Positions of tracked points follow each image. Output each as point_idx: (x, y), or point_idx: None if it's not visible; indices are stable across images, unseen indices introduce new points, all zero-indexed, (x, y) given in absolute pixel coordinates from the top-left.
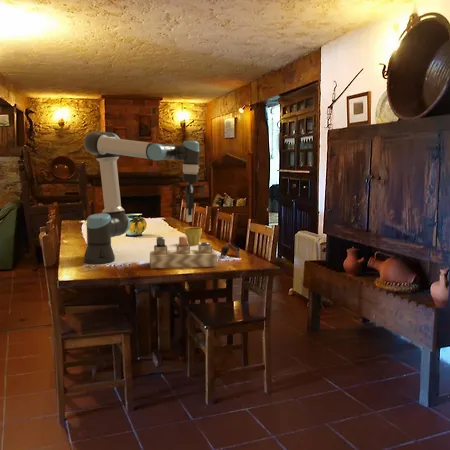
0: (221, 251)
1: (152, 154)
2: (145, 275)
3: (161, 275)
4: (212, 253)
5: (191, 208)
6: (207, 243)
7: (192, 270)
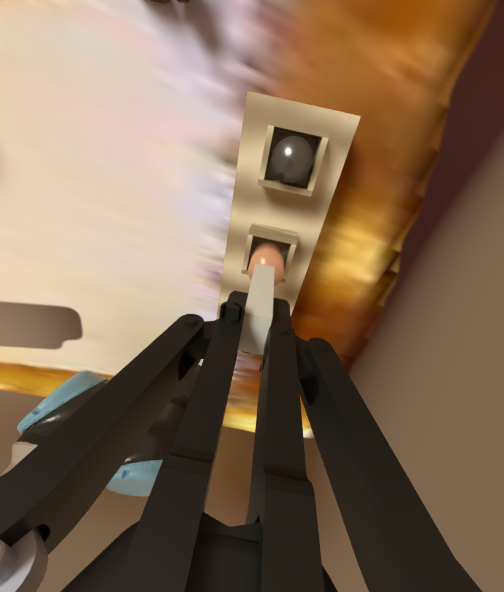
0: (185, 3)
1: None
2: (343, 346)
3: (363, 320)
4: (333, 134)
5: (295, 336)
6: (310, 153)
7: (357, 234)
